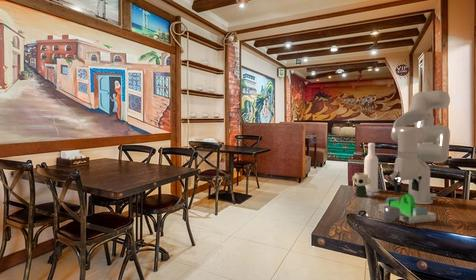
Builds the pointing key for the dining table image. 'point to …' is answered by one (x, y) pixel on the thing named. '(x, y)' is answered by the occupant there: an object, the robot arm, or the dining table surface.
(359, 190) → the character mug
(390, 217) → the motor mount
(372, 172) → the bottle
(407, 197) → the mechanical part
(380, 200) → the dining table surface
